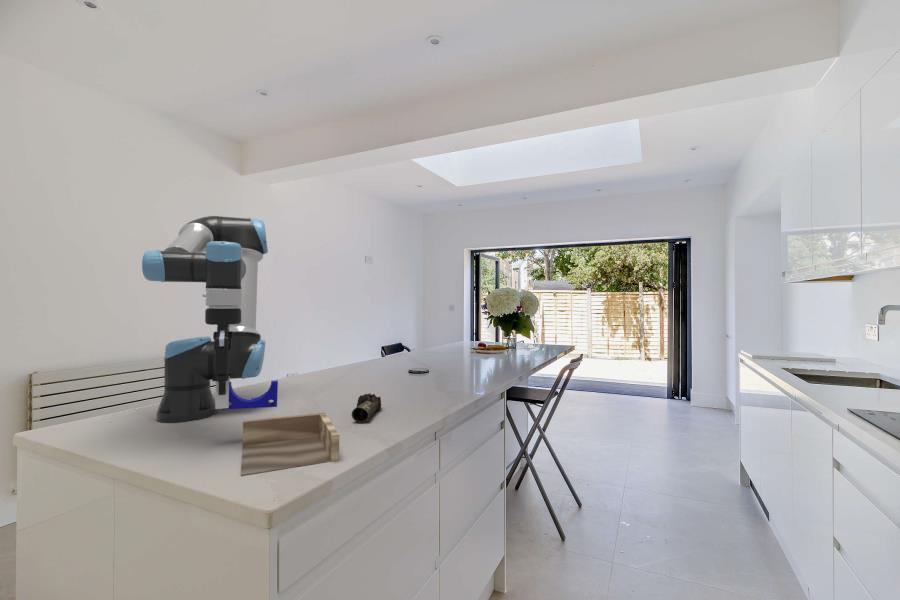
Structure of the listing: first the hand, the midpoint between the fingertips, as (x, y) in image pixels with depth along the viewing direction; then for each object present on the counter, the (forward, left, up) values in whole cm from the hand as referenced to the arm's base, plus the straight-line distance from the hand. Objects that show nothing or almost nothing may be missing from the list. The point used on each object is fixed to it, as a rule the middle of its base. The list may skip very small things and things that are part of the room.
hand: (222, 405), depth 101 cm
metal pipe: (-4, +35, -12) cm, 37 cm away
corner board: (+15, +13, -9) cm, 22 cm away
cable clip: (0, +6, -1) cm, 6 cm away
